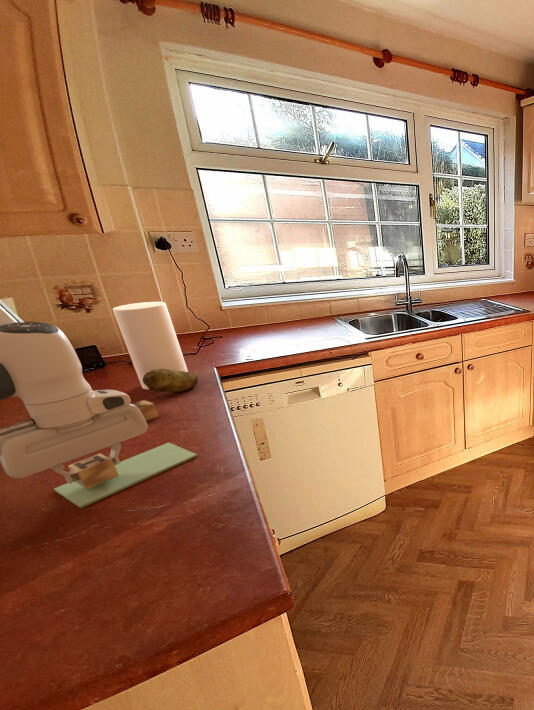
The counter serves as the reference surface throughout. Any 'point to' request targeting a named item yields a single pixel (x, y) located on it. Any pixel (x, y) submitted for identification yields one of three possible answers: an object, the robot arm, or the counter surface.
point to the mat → (128, 474)
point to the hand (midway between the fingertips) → (95, 472)
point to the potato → (169, 380)
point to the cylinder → (149, 337)
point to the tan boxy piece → (147, 409)
